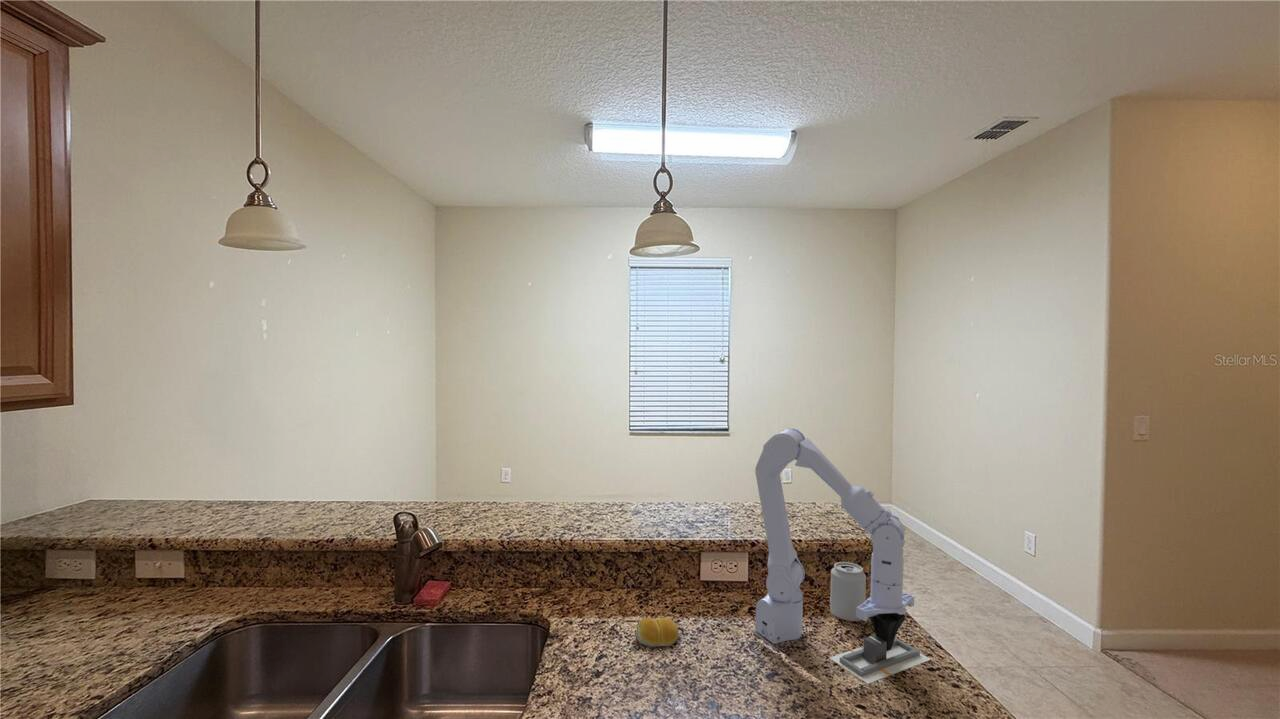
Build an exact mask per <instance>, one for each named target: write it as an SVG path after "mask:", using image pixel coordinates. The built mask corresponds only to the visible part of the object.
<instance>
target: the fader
mask: <svg viewBox="0 0 1280 719" xmlns="http://www.w3.org/2000/svg"><path fill="white" fill-rule="evenodd" d="M863 646H864V656H863V659H865V660H866V661H868V662H870V663H871V664H874V663H877V662H879V661H882V660H885V659H886V653H887V642H886V641H884V640H883V639H881V638H879V637H877V636H876V634H873V635H871V636H870V635H869V636H867V637H864V638H863Z"/></svg>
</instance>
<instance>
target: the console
mask: <svg viewBox="0 0 1280 719" xmlns="http://www.w3.org/2000/svg"><path fill="white" fill-rule="evenodd" d="M863 656H864V645H863V646H860V647H856V648H853V649H851V650H848V651H845V652H842V653H839V654H836V655H833V656H830V657H829V659H830V660H832V661H833V662H835V664H837V665H839V666H840V667H842V668H843V669H845V670H846V671H848V672H849V673H850V674H852V675H854V676H855V677H857V678H858V679H860V680H861V681H862V682H864V683H866V684H868V685H869V684H871V683H874V682H877V681H879V680H882V679H885V678H887V677H890V676H891V675H895V674H897V673H899V672H903V671H905V670H908V669H910V668H912V667H915V666H918V665H921V664H923V663H926V662H928V661H931V660H932V658H929V656H926V655H924V654H923V653H921V650H919V649H917V648H915V647H913V646H911V645H910V644H908V643H906V642H904V641H902V640H901V639H899V638H896V637H895V639H894V642H893V646H892V648H891V650H889V651H887V653H886V659H885V660H882V661H879V662H877V663H874V664H871V663H870V662H868V661H866V660H865V659H863Z"/></svg>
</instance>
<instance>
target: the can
mask: <svg viewBox="0 0 1280 719" xmlns="http://www.w3.org/2000/svg"><path fill="white" fill-rule="evenodd" d="M833 566H834V567H832V569H831V570H830V595H829V596H830V598H829V599H830V600H829V612H830V613H831V615H833V616H834V617H836V618H838V619H840V620H841V619H842V620H845V621H850V622H859V621H862V620H861V619H859V618H858V617H856V607H858V606H860V605H862V604H863V603H864V602H865V601H866V590H867V589H866V587H867V584H866V583H867V575H866V574H865V572H864V568H863V567H862V566H860V565H859V564H857V563H853V562H848V561H839V562H835V563H834V564H833Z"/></svg>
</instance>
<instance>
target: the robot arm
mask: <svg viewBox="0 0 1280 719" xmlns="http://www.w3.org/2000/svg"><path fill="white" fill-rule="evenodd" d="M793 461H796V462H795V463H794V466H795V467H799V468H800V467H801V468H806V469H811V470H812V471H813V472H814V474H816V475H817V476H818V477H819V478H820V479H821V480H822V481H823V482H825V483H826V485H828V486H829V488H831V489H832V490H833V491H834V492H835V493H836V494H837V495H838V496H839V497H840V506H841V508H842V509H844V510H845V511H846V512H847V514H849V515H850V517H852V519H853V520H855V522H856V523H857V524H858V525H859V526H860V527H861V528H862V529H863V530H864V531H865V532H866V533H869V534H870V541H871V543H872V545H873V548H872V553H871V559H870V560H871V564H870V594H869V595H870V596H869V597H868V598H867V599H865V602H864V603H863V604H862V605H860V606H858V607H856V617H858V618H859V619H861V620H860V621H864V622H866V621H868V619H869V620H870V622H871V624H872V626H873V630H874V633H875V634H874V635H876V636H877V637H879V638H881V639H883V640H884V641H886V642H887V651H889V650H891V648H892V646H893V642H894V639H896V636H897V634H898V631H899V629H900V628H901V626H902V624H903V623H904V622H905V621H906V615H905V614H907V613H908V610H907V608H906V607H911V608H912V607H915V596H914V595H911V594H910V593H907V592H903V590H904V587H903V586H904V583H903V582H904V557H903V556H904V546H905V542H906V541H905V535H906V534H905V532H906V531H905V528H904V525H903V523H902V522H901V520H900V519H899V517H898V516H896V515H894V514H893V513H892V512H891V511H890V510H886V509H885V508H884V507H883V506H882V505H881V504H880V503H879V502H878V500H876V499H875V498H874V494H875V493H874V492H872V491H871V489H867V490H866V489H865V488H864V487H862V486H858V485H857V486H856V485H852V484H851V482H850V481H848V479H847V478H846V477H845V476H844V475H843V474H842V473H841V471H839V470H838V469H837V467H836V466H835V465H834V464H833V463H832V462H831V461H830V460H829V458H827V456H826V455H825V454H824V453H823V452H822V451H821V450H820V449H819V447H817V446H816V444H815V443H814V442H813V441H812V440H810V439H809V438H808V437H805V435H804V433H802V432H801V431H800V430H799V429H795V428H793V427H791V428H789V427H788V428H785V429H783V430H782V431H780V432H779V433H775V434H774V435H773V436H771V437H770V438H769V439H768V440H767V441H766V442H765V443H764V444H763V446H762V451H761V454H760V456H759V459H758V461H757V463H756V465H755V469H754V470H755V471H754V472H755V477H756V483H757V485H756V486H757V490H758V496H759V501H760V507H761V511H762V518H763V523H764V529H765V534H766V535H765V536H766V541H767V548H768V559H767V565H766V566H767V571H768V572H767V577H766V580H765V586H766V589H767V593H766V595H765V596H764V597H763V598H761V599H759V600H758V601H757V603H756V605H755V623H754V624H755V627H754V629H755V631H754V630H752V634H753V635H755V636H757V637H758V638H759V639H760V640H762V641H763V642H765V643H766V644H767V645H769V647H771V648H773V649H774V650H775V651H780V648H778V647H776V646H775V644H779V643H782V642H786V641H795V640H798V639H800V638H801V637H802V634H803V607H804V606H803V602H804V595H803V591H802V590H801V587H800V585H801V584H802V583H803V581H804V580H805V568H804V566H803V565H802V563H801V562H800V560H799V558H798V557H799V556H798V553H797V550H796V549H795V548H794V546H793V545H794V544H793V541H792V534H791V530H790V524H789V518H788V513H787V512H788V511H787V507H786V506H787V505H786V501H785V495H784V490H783V485H782V478H781V473H782V472H783V471H784V470H785V469H786V468H787V466H788V465H789V464H790V463H792V462H793Z"/></svg>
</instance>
